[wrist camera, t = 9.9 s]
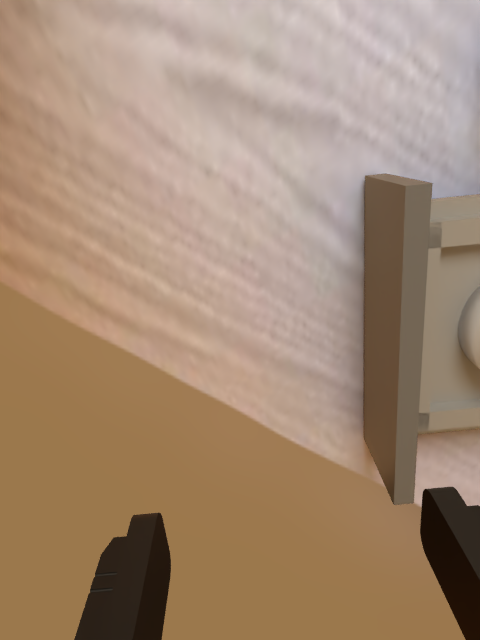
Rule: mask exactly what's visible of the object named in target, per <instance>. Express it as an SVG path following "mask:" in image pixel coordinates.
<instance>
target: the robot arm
mask: <svg viewBox="0 0 480 640" xmlns="http://www.w3.org/2000/svg"><path fill="white" fill-rule="evenodd" d="M420 534H421V541H422V545H423V549H424V552H425V554H426V557H427V559H428V561H429V563H430V565H431V567H432V569H433V571H434V574H435V576H436V578H437V580H438V582H439V584H440V586H441V588H442V591H443V593H444V595H445V597H446V599H447V601H448V603H449V605H450V608H451V610H452V612H453V614H454V616H455V618H456V620H457V622H458V624H459V627H460V629H461V631H462V633H463V635H464V637H465V639H466V640H480V506H478V505H477V506H467V505H466V504H465V502H464V501H463V499H462V497H461V496H460V494H459V493H458V491H457V490H456V489H455V488H454V487H444V488H433V489H425V490H424V491H423V497H422V512H421V528H420ZM170 572H171V559H170V551H169V546H168V542H167V537H166V533H165V528H164V523H163V519H162V515H161V513H151V514H141V515H133V517H132V519H131V522H130V526H129V529H128V534H127V536H126V537H115V538H113V539H112V541H111V542H110V543H109V545H108V546H107V547H106V549H105V550H104V552H103V553H102V554H101V557H100V560H99V563H98V566H97V570H96V573H95V577H94V579H93V582H92V585H91V589H90V593H89V595H88V598H87V601H86V604H85V608H84V611H83V614H82V617H81V620H80V624H79V627H78V630H77V633H76V636H75V639H74V640H161V639H162V631H163V624H164V616H165V611H166V603H167V596H168V589H169V582H170Z"/></svg>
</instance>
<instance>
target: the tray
mask: <svg viewBox="0 0 480 640" xmlns="http://www.w3.org/2000/svg"><path fill="white" fill-rule="evenodd" d="M431 197H432V183H429V182H424V181H420V180H415V179H410V178H405V177H400V176H395V175H390V174H377V175H367V176H365V330H364V439H365V441H366V444H367V446H368V448H369V450H370V453H371V455H372V457H373V459H374V462H375V464H376V466H377V468H378V471H379V473H380V475H381V477H382V479H383V482H384V484H385V486H386V488H387V491H388V493H389V495H390V497H391V500H392V502H393V504H394V505H399V504H410V503H414V489H415V472H416V455H417V438H418V434H429V433H439V432H450V431H461V430H472V429H480V369H479V368H478V367H477V366H476V365H475V364H474V363H472V362H471V361H470V360H469V359H468V358H467V356H466V355H465V354H464V352H463V350H462V348H461V345H460V342H459V337H458V325H459V319H460V315H461V312H462V310H463V308H464V306H465V304H466V302H467V300H468V299H469V297H470V296H471V295H472V293H473V292H474V291H475V290H476V289H477V288H478V287H479V286H480V194H476V195H466V196H456V197H447V198H437V199H431Z"/></svg>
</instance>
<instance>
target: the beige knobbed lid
mask: <svg viewBox="0 0 480 640" xmlns="http://www.w3.org/2000/svg"><path fill="white" fill-rule="evenodd" d="M458 337H459V342H460V345H461V348H462V350H463V352H464V354H465V355H466V356H467V358H468V359H469V360H470V361H471V362H472V363H474V364H475V365H476V366H477V367H478V368H479V369H480V286H479V287H478V288H477V289H476V290H475V291H474V292H473V293H472V295H471V296H470V297H469V299H468V300H467V302H466V304H465V306H464V308H463V310H462V312H461V315H460V319H459V325H458Z"/></svg>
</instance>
